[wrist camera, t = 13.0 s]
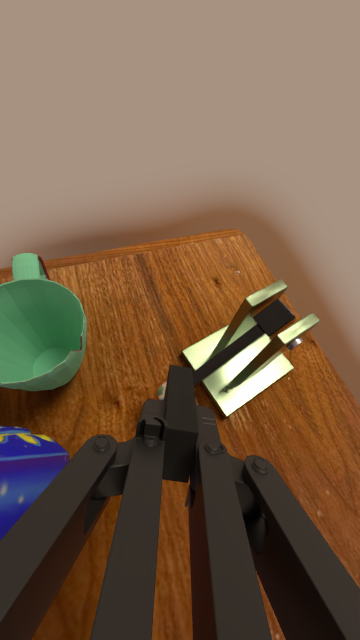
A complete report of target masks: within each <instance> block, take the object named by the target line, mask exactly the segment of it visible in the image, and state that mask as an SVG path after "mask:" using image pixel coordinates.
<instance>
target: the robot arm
mask: <svg viewBox="0 0 360 640" xmlns="http://www.w3.org/2000/svg"><path fill="white" fill-rule="evenodd" d="M189 475H190V485H189V490H188V494H187V498H186V503H185V506H186V507H187V506H188V509H189V537H190V565H191V593H192V621H193V640H272V637H271V633H270V629H269V625H268V621H267V616H266V612H265V608H264V604H263V600H262V595H261V591H260V587H259V583H258V579H257V574H258V576H259V578H260V581H261V583H262V585H263V588H264V590H265V592H266V595H267V597H268V599H269V601H270V604H271V606H272V608H273V611H274V613H275V615H276V618H277V620H278V622H279V625H280V627H281V629H282V632H283V634H284V636H285V638H286V640H360V589H359V587H358V586H357V584H356V583H355V582H354V580H353V579H352V577H351V576H350V574H349V573H348V572H347V570H346V569H345V567H344V566H343V565H342V563H341V562H340V560H339V559H338V557H337V556H336V555H335V553H334V552H333V550H332V549H331V547H330V546H329V545H328V543H327V542H326V540H325V539H324V538H323V536H322V535H321V533H320V532H319V530H318V529H317V528H316V526H315V525H314V523H313V522H312V521H311V519H310V518H309V516H308V515H307V513H306V512H305V511H304V509H303V508H302V506H301V505H300V503H299V502H298V501H297V499H296V498H295V496H294V495H293V494H292V492H291V491H290V489H289V488H288V486H287V485H286V484H285V482H284V481H283V479H282V478H281V477H280V475H279V474H278V472H277V471H276V469H275V468H274V467H273V465H272V464H271V463H270V462H269V461H267V460H266V459H264V458H262V457H260V456H255V455H251V456H248V457H247V458H246V459H245V461H242V460H240V459H237V458H235V457H233V456H231V455H229V454H228V452H227V450H226V447H225V446H224V445H223V444H222V443H221V442H220V437H219V433H218V428H217V423H216V419H215V414H214V412H213V411H212V410H211V409H210V407H204V406H197V405H196V402H195V393H194V384H193V375H192V368H188V367H182V366H175V365H170V366H169V372H168V378H167V383H166V389H165V394H164V400H163V401H160V400H154V399H148V400H147V401H146V402H145V403H144V405H143V410H142V414H141V418H140V419H139V421H138V424H137V431H136V436H135V437H134V438H133V439H131V440H130V441H127V442H122V443H117V441H116V440H115V439H114V438H113V437H111V436H109V435H104V434H102V435H96V436H93V437H91V438H90V439H89V440H87V441H86V443H85V444H84V445H83V446H82V447H81V448H80V449H79V451H78V452H77V453H76V454H75V455H74V456H73V457H72V459H71V460H70V461H69V462H68V463H67V464H66V465H65V467H64V468H63V469H62V470H61V471H60V472H59V474H58V475H57V476H56V477H55V478H54V479H53V480H52V482H51V483H50V484H49V485H48V486H47V487H46V488H45V490H44V491H43V492H42V493H41V494H40V495H39V497H38V498H37V499H36V500H35V501H34V502H33V503H32V505H31V506H30V507H29V508H28V509H27V510H26V511H25V513H24V514H23V515H22V516H21V517H20V518H19V519H18V521H17V522H16V523H15V524H14V525H13V526H12V528H11V529H10V530H9V531H8V532H7V533H6V534H5V536H4V537H3V538H2V539H1V540H0V640H31V639H32V637H33V635H34V633H35V632H36V630H37V628H38V626H39V625H40V623H41V621H42V619H43V617H44V616H45V614H46V612H47V610H48V608H49V607H50V605H51V603H52V601H53V600H54V598H55V596H56V594H57V592H58V591H59V589H60V587H61V585H62V584H63V582H64V580H65V578H66V576H67V575H68V573H69V571H70V569H71V567H72V566H73V564H74V562H75V560H76V559H77V557H78V555H79V553H80V551H81V550H82V548H83V546H84V544H85V543H86V541H87V539H88V537H89V535H90V534H91V532H92V530H93V528H94V526H95V525H96V523H97V521H98V519H99V518H100V516H101V514H102V512H103V510H104V509H105V507H106V505H107V503H108V502H109V499H110V496H116V495H122V494H123V495H122V500H121V504H120V509H119V513H118V517H117V522H116V526H115V531H114V535H113V540H112V544H111V549H110V553H109V558H108V562H107V566H106V571H105V575H104V580H103V584H102V589H101V593H100V598H99V602H98V607H97V611H96V615H95V620H94V624H93V629H92V633H91V638H90V640H151V638H152V623H153V608H154V593H155V579H156V564H157V549H158V534H159V519H160V504H161V490H162V479H165V480H172V481H179V482H186V483H188V479H189ZM255 569H256V570H255ZM256 571H257V574H256Z"/></svg>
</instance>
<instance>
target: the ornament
mask: <svg viewBox="0 0 360 640" xmlns="http://www.w3.org/2000/svg"><path fill="white" fill-rule="evenodd" d="M68 462H69V454H68V453H67V451H66V450H65V449H64V448H63V447H62V446H60V445H59V444H58V443H57V442H56V441H54V440H53V439H51V438H49V437H48V436H46V435H32V434H31V432H30V430H29V429H25V428H21V427H17V426H15V427H5V426H0V540H1V539H2V538H3V537H4V536H5V534H6V533H7V532H8V531H9V530H10V529H11V528H12V526H13V525H14V524H15V523H16V522H17V521H18V519H19V518H20V517H21V516H22V515H23V514H24V513H25V511H26V510H27V509H28V508H29V507H30V506H31V505H32V503H33V502H34V501H35V500H36V499H37V498H38V497H39V495H40V494H41V493H42V492H43V491H44V490H45V488H46V487H47V486H48V485H49V484H50V483H51V482H52V480H53V479H54V478H55V477H56V476H57V475H58V474H59V472H60V471H61V470H62V469H63V468H64V467H65V465H66V464H67V463H68Z"/></svg>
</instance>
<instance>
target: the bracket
mask: <svg viewBox="0 0 360 640" xmlns="http://www.w3.org/2000/svg"><path fill="white" fill-rule="evenodd" d="M287 288H288V287H287V285H285V284H284V283H283V281H282V280H279V281H277V282H275V283H273V284H271V285H269V286H267V287H265V288H263V289H261V290H260V291H255V292H254V293H252V294H251V295H250V296H248V297H246V298H245V299H244V301H243V303H242V304H241V306H240V308H239V309H238V311H237V313H236V314H235V316H234V318H233V319H232V321H231V323H230V324H229V325H227V326H225V327H223V328H222V329H220V330H218V331H216V332H215V333H213V334H211V335H209V336H207V337H206V338H204V339H202V340H200V341H198V342H197V343H195V344H193V345H191V346H190V347H188V348H186V349H184V350H182V352H181V356H182V357H183V359H184V360H185V362H186V363H187V365H188V366H189V368H192V372H194V371H195V370H197V369H198V368H199V367H201V366H202V365H203V364H205V363H206V362H207V361H209V360H210V359H211V358H213V357H214V356H215V355H217V354H218V353H219V352H220V351H222V350H223V349H224V348H226V347H227V346H228V345H230V344H231V343H232V342H234V341H235V340H236V339H238V338H239V337H240V336H242V335H243V334H244V333H245V332H247V331H248V330H249V329H251V328H252V327H253V326H255V325H256V324H255V322H254V320H253V317H254V316H255V315H257V314H258V313H259V312H261V311H262V310H263V309H264V308H266V307H267V306H268V305H270V304H271V303H272V302H274V301H275V300H276V299H278V298H280V296H281V295H282V294H283V293H284V291H285V290H286V289H287ZM319 322H320V320H319V319H318V318H317V317H316V316H315V315H314V314H313V313H310V314H309V315H307V316H306V317H304V318H302V319H301V320H299V321H298V322H296V323H295V324H293V325H291V326H290V327H288V328H287V329H285V330H284V331H282V332H280V333H279V334H277V335H276V336H275V337H274V338H273V339H272V340H269V339H268V338H267V337H266V336H265V335H264V336H263V337H261V338H260V339H259V340H257V341H256V342H255V343H253V344H252V345H251V346H249V347H248V348H247V349H245V350H244V351H243V352H241V353H240V354H239V355H237V356H236V357H235V358H233V359H232V360H231V361H229V362H228V363H227V364H225V365H224V366H223V367H221V368H220V369H219V370H217V371H216V372H215V373H213V374H212V375H211V376H209V377H208V378H207V379H205V380H204V381H203V382H201V383H200V384H201V386H202V387H203V389H204V390H205V392H206V393H207V395H208V396H209V398H210V399H211V400H212V402H213V403H214V405H215V406H216V408H217V409H218V411H219V412H220V414H221V415H222V417H223V418H224V419H225V418H226V417H228V416H229V415H231V414H232V413H233V412H235V411H236V410H237V409H239V408H240V407H242V406H243V405H244V404H246V403H247V402H248V401H250V400H251V399H253V398H254V397H255V396H257V395H258V394H260V393H261V392H262V391H264V390H265V389H266V388H268V387H269V386H271V385H272V384H273V383H275V382H276V381H277V380H279V379H280V378H282V377H283V376H284V375H286V374H287V373H288V372H290V371H291V370H293V369H294V367H293V366H292V364H291V363H290V362H289V361H288V360H287V359H286V357H285V356H284V355H283V354H282V353H283V352H284V351H285V350H287V349H289V350H290V351H291V350H293V349H294V348H296V347H297V346H298V345H300V344H301V343H302V342H303V340H302V339H301V337H302V336H303V335H305V334H306V333H307V332H308V331H309V330H311V328H313V327H314V326H315V325H316V324H318V323H319Z"/></svg>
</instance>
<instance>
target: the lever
mask: <svg viewBox="0 0 360 640" xmlns="http://www.w3.org/2000/svg"><path fill="white" fill-rule="evenodd" d="M253 320H254V322H255V324H256V325H255V326H253V327H252V328H251V329H249V330H248V331H247V332H245V333H244V334H243V335H242V336H240V337H239V338H238V339H236V340H235V341H234V342H232V343H231V344H230V345H228V346H227V347H226V348H224V349H223V350H222V351H220V352H219V353H218V354H217V355H215V356H214V357H213V358H211V359H210V360H209V361H207V362H206V363H205V364H203V365H202V366H201V367H199V368H198V369H197V370H195V371H194V372H193V373H192V375H193V384H194V388H195V387H196V386H197V385H199V384H200V383H201V382H203V381H204V380H205V379H207V378H208V377H209V376H211V375H212V374H213V373H215V372H216V371H217V370H219V369H220V368H221V367H223V366H224V365H225V364H227V363H228V362H229V361H231V360H232V359H233V358H235V357H236V356H237V355H239V354H240V353H241V352H243V351H244V350H245V349H247V348H248V347H249V346H251V345H252V344H253V343H255V342H256V341H257V340H259V339H260V338H261V337H263V336H264V335H265V336H266V337H267V338H268V339H269V340H270V339H272V338H273V337H274V336H276V335H277V334H279V333H280V332H281V331H283V330H284V329H285V328H287V327H288V326H289V325H291V324H292V323H293V322H294V320H295V315H294V314H293V313H292V312H291V311H290V310H289V309H288V308H287V307H286V306H285V305H284V304H283V302H282V301H281V300H280V299H279V298H278V299H276V300H275V301H274V302H272V303H271V304H270V305H268V306H267V307H266V308H264V309H263V310H262V311H261V312H259V313H258V314H257V315H255V316H254V317H253ZM166 383H167V378H166V379H164V380H162V381H161V382H160V383H159V384H158V385H157V387H156V388H155V391H154V400H160V401H163V400H164V394H165V389H166Z"/></svg>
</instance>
